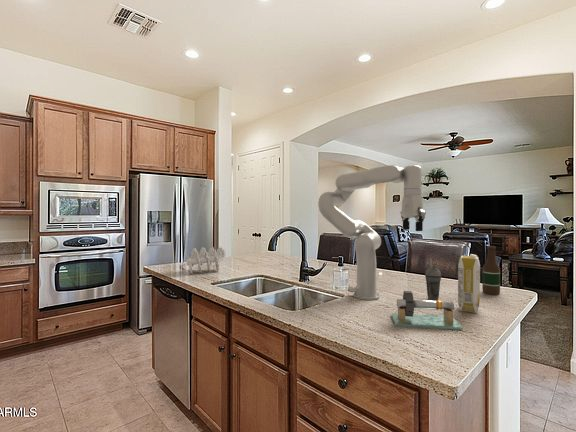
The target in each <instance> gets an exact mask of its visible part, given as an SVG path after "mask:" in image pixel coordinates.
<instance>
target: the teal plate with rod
mask: <svg viewBox="0 0 576 432" xmlns="http://www.w3.org/2000/svg"><path fill="white" fill-rule="evenodd" d="M396 306H397V307H396V308H397V313H394V312H391V315H390V316H391V318H392V321H393V324H394V326H395V327H401V328H404V327H405V328H417V329H418V328H419V329H420V328H421V329H422V328H423V329H433V330H434V329H435V330H453V331H454V330H455V331H463V329H464V328H463V326H462V325H461V324H460V323H459V322H458V321H457V320H456V319H455V318H454V309H455V303H454V301H453V300H452V301H449V300H448V301H447V300H441V299H438V300H436V301H431V300H428V299H426V300H424V299H414V309H428V310H429V309H430V310H437V311H438V310H439V311H441V310H443V315H434V314H433V315H432V314H417V313H416V314H415V313H414V314H413V316H412V317H411V316H405V308H404V307H406V301H405V299H403V298H402V299H401V298H397V299H396Z"/></svg>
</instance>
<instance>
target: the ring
mask: <svg viewBox="0 0 576 432" xmlns="http://www.w3.org/2000/svg"><path fill="white" fill-rule="evenodd" d="M402 299H405V301H406V307H404V308H405V316H411V317H412V316H413V314H415V308H414V300H415V299H414V294H413V292H412V290H403V294H402Z"/></svg>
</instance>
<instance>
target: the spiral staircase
mask: <svg viewBox="0 0 576 432" xmlns="http://www.w3.org/2000/svg"><path fill="white" fill-rule="evenodd" d="M225 251H226V250H225V249H224V248H223V246H218V248H217V249H214V246H212V247H210V248H209V249H208V251H206V248H205V247H201V248H200V251H198V250H197V248H196V247H195V248H194V247H193V249H191V252H190V256H189V255H187V259H186V261H185V264H186V266H189V273H190V274H191V273H192V274H193V267H194V265H195V266H196V265H197V266H198V271H199V273H200V272H201V273H202V266H203V264H206V268H207V271H208V273H211V265H212V263H215V265H214V266H215V269H216V271H217V272H219V270H220V263H221V262H223V261H224V259H225V257H226V252H225Z"/></svg>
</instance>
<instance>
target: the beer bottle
mask: <svg viewBox="0 0 576 432" xmlns="http://www.w3.org/2000/svg"><path fill="white" fill-rule="evenodd" d="M496 249H497V248H496V246H494V245H489V246H487V255H486V256H487V257H486V258H487V259H486V261H485V263H484V264H483V266H482V293H484V294H486V295H491V296H492V295H494V296H496V295H497V296H498V295H500V293H501V268H500V265H499V264H498V262H497V257H496V255H497V254H496Z"/></svg>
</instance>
